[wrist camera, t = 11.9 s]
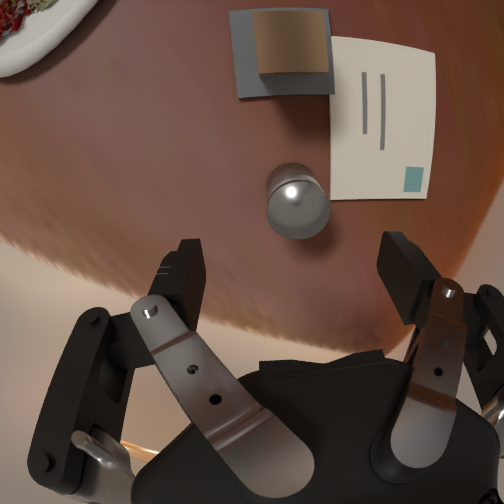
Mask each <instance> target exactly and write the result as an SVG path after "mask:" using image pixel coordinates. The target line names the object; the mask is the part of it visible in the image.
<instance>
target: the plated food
mask: <svg viewBox="0 0 504 504" xmlns="http://www.w3.org/2000/svg"><path fill="white" fill-rule="evenodd" d="M97 2H98V0H0V77H8V76H11V75H14V74H16V73H19V72H21V71H24V70H25V69H27V68H28V67H30V66H32V65H33V64H35V63H36V62H38V61H40V60H41V59H42V58H43V57H44V56H45V55H47V54H48V53H49V52H50V51H51V50H53V49H54V48H55V47H56V46H58V45H59V44H60V42H61V41H62V40H63V39H64V38H65V37H66V36H67V35H68V34H69V33H70V32H71V31H72V30H74V29H75V28H76V27H77V25H78V24H79V23H80V22H81V21H82V19H83V18H84V17H85V16H86V15H87V14H88V12H89V11H90V10H91V9H92V8H93V7H94V6H95V4H96V3H97Z"/></svg>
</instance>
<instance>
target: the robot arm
mask: <svg viewBox="0 0 504 504" xmlns="http://www.w3.org/2000/svg"><path fill="white" fill-rule="evenodd" d="M377 271H378V274H379V276H380V278H381V279H382V281H383V283H384V285H385V287H386V289H387V291H388V293H389V295H390V297H391V299H392V301H393V303H394V305H395V307H396V309H397V311H398V313H399V315H400V317H401V319H402V321H403V323H404V325H409V324H415V325H416V327H415V329H414V332H413V335H412V338H411V341H410V344H409V347H408V349H407V352H406V355H405V358H404V361H403V362H401V361H398V360H394V359H389V358H385V356H384V354H383V351H382V349H380V350H374V351H367V352H360V353H354V354H351V355H348V356H346V357H343V358H340V359H338V360H335V361H332V362H329V363H323V364H322V363H314V362H305V361H298V360H275V361H259V370H258V371H255V372H251V373H249V374H246V375H244V376H242V377H240V378H238V379H236V378H235V377H234V376H233V375H232V374H231V372H230V371H229V370H228V369H227V368H226V367H225V365H224V364H223V363H222V362H221V361H220V360H219V359H218V357H217V356H216V355H215V354H214V353H213V351H212V350H211V349H210V348H209V347H208V345H207V344H206V343H205V342H204V340H203V339H202V338H201V337H200V336H199V334H198V333H197V332H196V329H197V324H198V318H199V313H200V308H201V303H202V298H203V293H204V288H205V283H206V269H205V263H204V258H203V252H202V246H201V242H200V239H199V238H198V239H182V240H181V242H180V245H179V247H178V250H177V251H171V252H170V253H169V254H167V255H166V256H165V257H164V258H163V260H162V262H161V264H160V268H159V269H158V271H157V274H156V276H155V278H154V281H153V283H152V285H151V288H150V290H149V292H148V295H147V296H145V297H142V298H140V299H139V300H137V301H136V302H135V303H134V304H133V305H132V308H131V311H130V312H128V313H124V314H119V315H115V316H110V314H109V312H108V311H107V310H106V309H105V308H102V307H95V308H91V309H89V310H87V311H85V312H84V313H83V314H82V315H81V316H80V317H79V318H78V320H77V322H76V324H75V326H74V328H73V331H72V333H71V335H70V337H69V339H68V342H67V344H66V346H65V348H64V351H63V353H62V356H61V358H60V360H59V363H58V365H57V368H56V370H55V373H54V375H53V378H52V380H51V383H50V386H49V388H48V391H47V394H46V397H45V400H44V403H43V406H42V409H41V412H40V415H39V418H38V421H37V424H36V428H35V431H34V435H33V438H32V442H31V446H30V450H29V454H28V459H27V465H28V470H29V473H30V475H31V477H32V478H33V479H34V481H36V482H37V483H38V484H40V485H42V486H44V487H46V488H48V489H51V490H53V491H55V492H56V493H58V494H60V495H63V496H65V497H68V498H71V499H74V500H77V501H79V502H83V503H89V504H504V503H503V502H502V500H501V499H500V497H499V495H498V489H497V477H498V465H499V459H500V458H504V296H503V295H502V293H501V292H500V291H499V290H498V289H496V288H495V287H493V286H491V285H487V284H484V285H481V286H480V287H479V289H478V291H477V294H472V293H464V291H463V289H462V287H461V286H460V285H459V284H458V283H457V282H455V281H454V280H452V279H449V278H442V277H441V275H440V274H439V273H438V271H437V270H436V269H435V267H434V266H433V265H432V263H431V262H430V261H429V259H428V258H427V257H426V256H425V255H424V253H423V252H422V251H421V249H420V248H419V247H418V246H416V245H415V244H414V243H412V242H411V241H408V239H407V238H406V237H405V236H404V234H403V233H402V232H401V231H385V232H384V233H383V235H382V239H381V244H380V249H379V254H378V259H377ZM489 329H490V331H491V333H492V335H493V337H494V338H495V340H496V344H497V349H496V352H495V354H494V355H492V353H491V351H490V349H489V347H488V345H487V343H486V341H485V339H484V336H485V335H486V333H487V332H488V330H489ZM463 362H464V365H465V367H466V369H467V372H468V374H469V377H470V379H471V382H472V384H473V387H474V390H475V393H476V395H477V398H478V401H479V404H480V407H481V410H482V413H481V416H480V415H479V414H478V413H476V412H475V411H473V410H472V409H471V408H469V407H467V406H466V405H465V404H464V403H462V402H461V401H459V400H458V399H457V398H456V394H457V389H458V385H459V380H460V375H461V370H462V363H463ZM154 364H155V365H156V367H157V369H158V370H159V372H160V374H161V375H162V377H163V379H164V380H165V382H166V384H167V385H168V387H169V388H170V390H171V392H172V393H173V395H174V396H175V398H176V400H177V401H178V403H179V404H180V406H181V408H182V409H183V411H184V412H185V414H186V415H187V417H188V418H189V420H190V421H191V423H190V424H189V425H188V426H187V427H186V428H185V429H184V430H183V431H182V432H181V433H180V434H179V435H178V436H177V437H176V438H175V439H174V440H173V441H172V442H170V444H168V445H167V446H166V447H165V448H164V449H163V450H162V451H161V452H160V453H159V454H157V455H156V456H155V457H154V458H153V459H152V460H151V461H150V462H149V463H147V464H146V465H145V466H144V467H143V468H142V469H141V470H140V471H139V472H138V474H137V475H136V477H135V475H134V474H133V472H132V470H131V466H130V456H129V453H128V451H127V450H126V448H125V447H124V446H123V445H121V444H120V440H121V434H122V428H123V422H124V417H125V412H126V407H127V401H128V397H129V393H130V388H131V384H132V379H133V375H134V371H135V368H140V367H144V366H149V365H154Z"/></svg>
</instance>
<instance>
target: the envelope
mask: <svg viewBox="0 0 504 504" xmlns="http://www.w3.org/2000/svg"><path fill="white" fill-rule="evenodd" d="M330 37H331V38H330ZM330 37H329V36H327V37H326V38H327V39H328V38H330V39H331V40H330V41H332V43H331V45H332V50H331V51H332V53H333V66H334V67H333V68H334V82H335V95H329V108H330V200H343V199H399V198H414V199H426V197H427V191H428V184H429V178H430V170H431V162H432V153H433V143H434V130H435V110H436V71H435V53H431V52H427V51H423V50H419V49H415V48H411V47H406V46H401V45H396V44H391V43H385V42H379V41H372V40H365V39H357V38H347V37H335V36H330ZM330 41H329V44H330ZM329 53H330V52H329ZM329 53H328V54H329ZM330 59H331V58H330ZM328 61H329V59H328ZM331 64H332V63H331ZM331 70H332V69H331ZM332 75H333V74H332ZM330 80H331V79H330ZM332 82H333V81H332ZM329 84H330V82H329ZM332 87H333V86H332ZM333 88H334V87H333ZM331 90H332V89H331Z"/></svg>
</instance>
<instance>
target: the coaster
mask: <svg viewBox="0 0 504 504" xmlns="http://www.w3.org/2000/svg"><path fill="white" fill-rule="evenodd" d="M283 10H302V11H323V15H324V23H325V32H326V37H327V36H329V37H330V36H331V31H330V22H329V14H328V9H319V8H262V9H248V10H237V11H229V21H230V30H231V39H232V48H233V57H234V67H235V76H236V85H237V94H238V98H245V97H257V96H272V95H298V94H327V95H335V82H334V68H333V67H334V66H333V53H332V51H331V50H332V45H331V43H332V41H330V40H331V39H330V38H331V37H330V38H328V39H327V38H326V42H327V53H329V52H330V53H329V54H328V59H329V61H328V65H329V72H326V73H319V74H287V75H266V76H259V74H258V64H257V54H256V45H255V36H254V27H253V17H252V12H259V11H283ZM329 41H330V44H329ZM330 58H331V59H330ZM331 63H332V64H331ZM331 69H332V70H331ZM332 74H333V75H332ZM330 79H331V80H330ZM332 81H333V82H332ZM329 82H330V84H329ZM332 86H333V87H334V88H333V87H332ZM331 89H332V90H331Z"/></svg>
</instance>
